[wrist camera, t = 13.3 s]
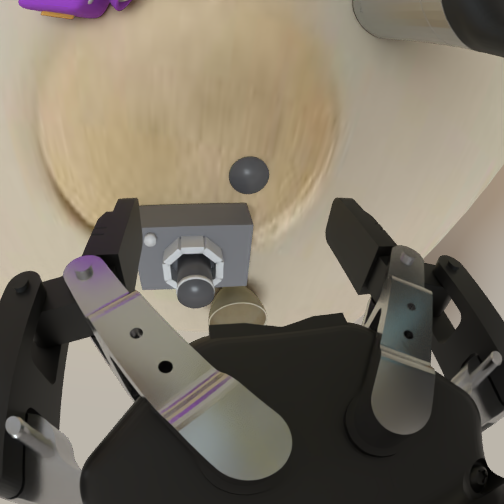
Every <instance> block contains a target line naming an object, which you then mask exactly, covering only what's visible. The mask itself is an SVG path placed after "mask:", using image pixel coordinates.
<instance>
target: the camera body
mask: <svg viewBox="0 0 504 504" xmlns="http://www.w3.org/2000/svg"><path fill="white" fill-rule="evenodd" d="M139 210H140V219H141V226H142V235H143V245H142V251H141V256H140V262H139V267H138V271H139V276H140V281H141V286H142V290H156V289H177V262H178V258H179V257H180V256H181V255H182V254H198V253H203V254H204V255H205V256H207V257H208V258H209V259H210V264H211V272H212V280H213V284H214V287H234V286H247V278H248V269H249V260H250V251H251V242H252V234H253V222H252V219H251V216H250V213H249V210H248V207H247V204H246V203H210V204H171V205H146V206H139Z"/></svg>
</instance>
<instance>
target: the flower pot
mask: <svg viewBox="0 0 504 504" xmlns="http://www.w3.org/2000/svg"><path fill="white" fill-rule="evenodd" d="M266 322H267V313H266V311H265V309H264V307H263V305H262V303H261V302H260V300H259V299H258V298H257V296H256V295H255V294H254V293H253V292H252V291H251V290H249V289H248V288H247V287H245V286H234V287H222V288H221V289H220V291H219V292H218V293H217V295H216V297H215V299H214V301H213V303H212V306H211V309H210V313H209V320H208V325H217V324H233V323H250V324H259V325H265V324H266Z"/></svg>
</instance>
